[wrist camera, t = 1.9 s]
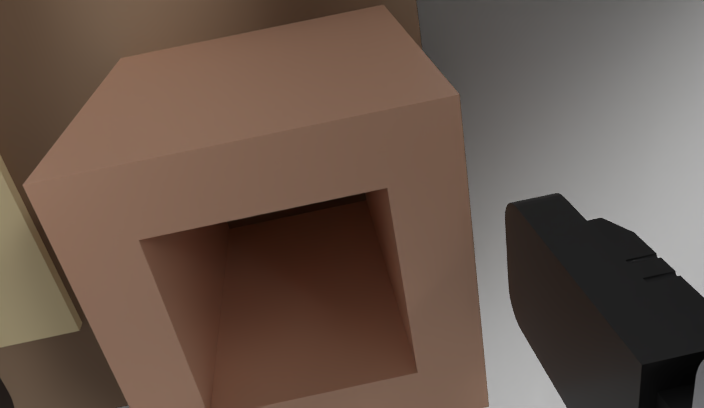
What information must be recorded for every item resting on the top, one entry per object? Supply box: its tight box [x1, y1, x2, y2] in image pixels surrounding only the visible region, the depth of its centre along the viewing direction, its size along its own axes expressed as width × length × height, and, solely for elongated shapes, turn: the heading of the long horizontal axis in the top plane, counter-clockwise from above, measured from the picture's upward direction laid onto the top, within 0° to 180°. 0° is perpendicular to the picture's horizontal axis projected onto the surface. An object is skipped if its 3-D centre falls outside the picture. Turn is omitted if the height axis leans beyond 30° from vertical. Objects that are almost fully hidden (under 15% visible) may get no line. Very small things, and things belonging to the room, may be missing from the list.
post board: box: [0, 0, 422, 408], centre depth 12 cm, size 17×13×9 cm
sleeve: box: [23, 5, 489, 408], centre depth 12 cm, size 6×6×6 cm
